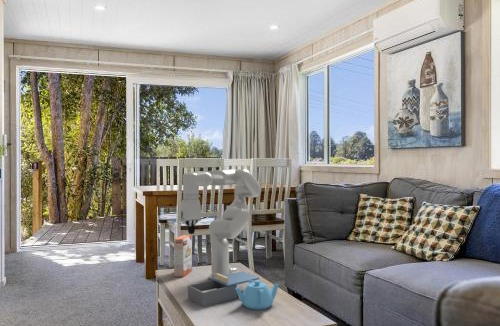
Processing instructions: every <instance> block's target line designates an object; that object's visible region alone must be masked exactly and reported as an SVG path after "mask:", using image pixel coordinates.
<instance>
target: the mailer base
mask: <svg viewBox="0 0 500 326" xmlns="http://www.w3.org/2000/svg"><path fill="white" fill-rule="evenodd" d="M237 286H238V284H237V285H233V286H229V287H228V286H225V285H223V284H221V283H219V282H216V281H214V280H211V279H210V280H208V281H202V282H198V283H194V284H189V285H187V300H190V301H192V302H193V303H195V304H197V305H199V306H201V307H202V308H203V307H208V306H211V305H215V304H219V303H223V302H227V301H231V300H235V299H237V298H238V294H237V291H236V289H235V288H238V287H237Z"/></svg>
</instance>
